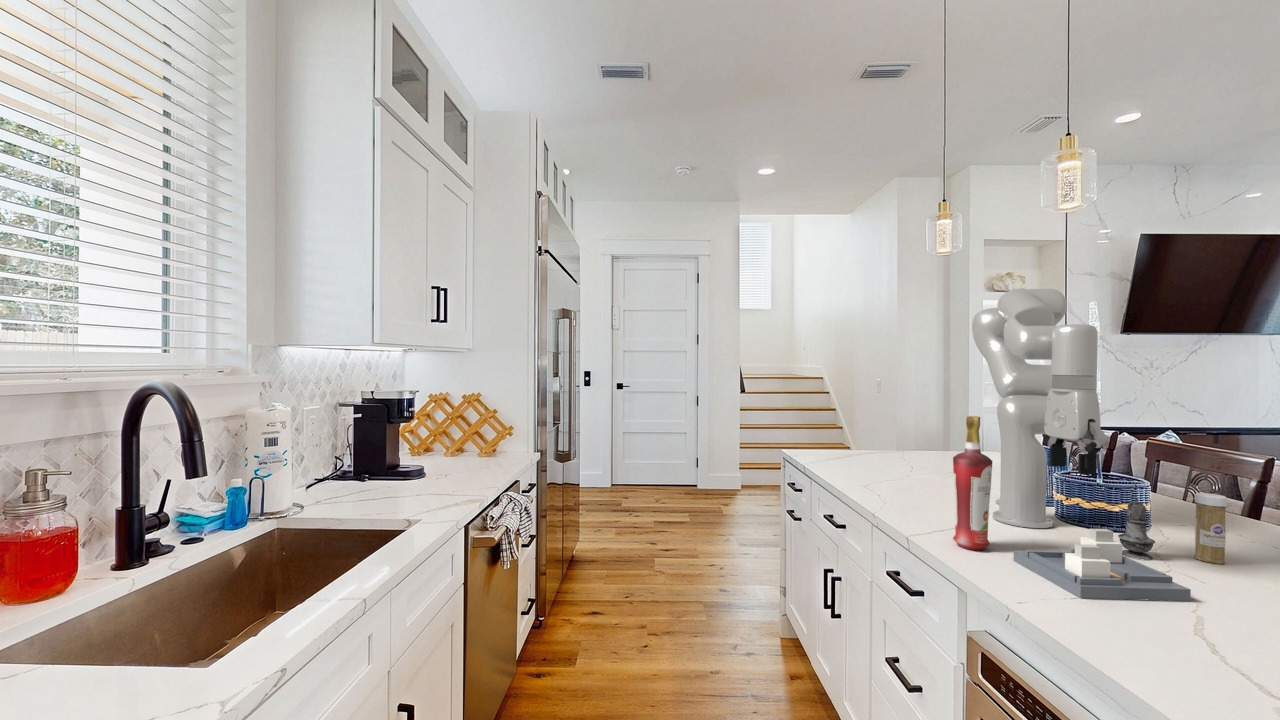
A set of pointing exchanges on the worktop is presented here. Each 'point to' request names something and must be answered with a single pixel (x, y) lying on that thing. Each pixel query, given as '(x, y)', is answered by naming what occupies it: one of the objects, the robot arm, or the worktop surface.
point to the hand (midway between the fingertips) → (1072, 469)
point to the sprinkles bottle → (1210, 528)
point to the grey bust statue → (1136, 533)
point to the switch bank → (1122, 583)
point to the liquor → (972, 491)
